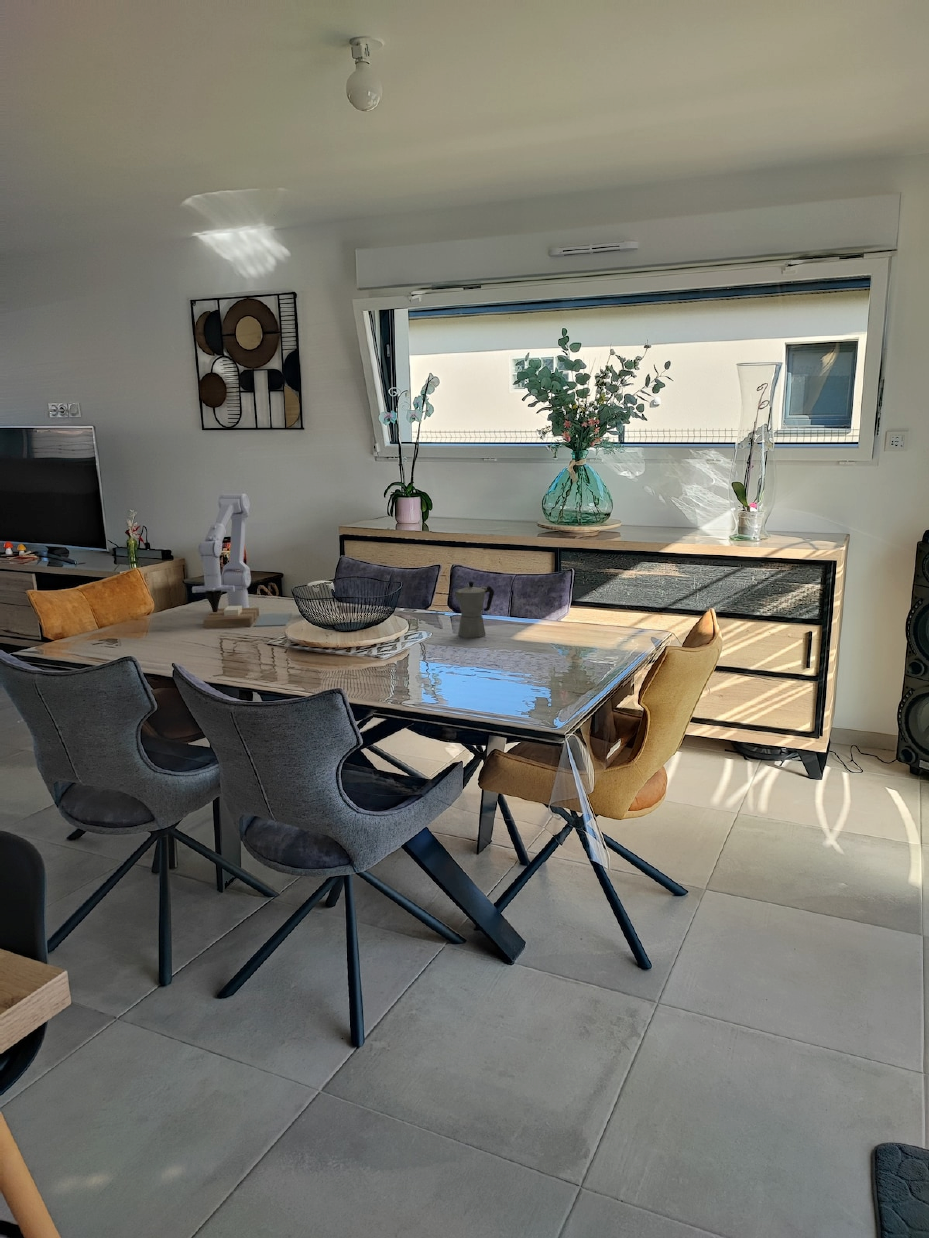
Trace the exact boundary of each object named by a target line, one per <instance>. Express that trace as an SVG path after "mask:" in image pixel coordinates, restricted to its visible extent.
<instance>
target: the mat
mask: <svg viewBox="0 0 929 1238" xmlns="http://www.w3.org/2000/svg"><path fill="white" fill-rule="evenodd" d="M292 614H293V613H292V612H291V613H287V612H286V613H284V612H283V613H262V614H260V615H259V616H258V618H257V619H256V620H255V621H256V622H254V623H253V627H254V626H257V627H283V626H284V627H285V626H286V625H287V624H288V622H289V620H290V619H291V616H292ZM286 623H287V624H286Z"/></svg>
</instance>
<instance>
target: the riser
mask: <svg viewBox="0 0 929 1238" xmlns="http://www.w3.org/2000/svg"><path fill="white" fill-rule="evenodd" d="M225 608H226V607H225ZM225 608H222V607H221V608H220V607H219V608H218V611H217V612H213V611H212V610H211V612H210V613H208V615H206V617H205V618H204V619H203V629H217V628H219V629H220V628H223V629H224V628H243V627H242V626H251V627H252V626H253V625H254V624H255V623H256V622H255V621H257V620H258V618H259V617H260V611H259V609H260V608H259V607H256V606H255V607H254V606H253V607H251V608H242V612H241V613H240V614H239V615H231V616H224V609H225ZM257 617H258V618H257Z"/></svg>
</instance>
